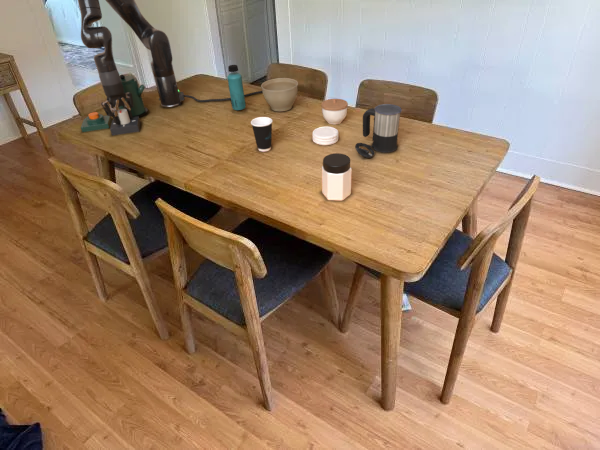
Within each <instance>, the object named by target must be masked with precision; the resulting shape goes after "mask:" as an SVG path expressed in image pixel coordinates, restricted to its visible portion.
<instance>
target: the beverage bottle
mask: <svg viewBox="0 0 600 450" xmlns="http://www.w3.org/2000/svg"><path fill="white" fill-rule="evenodd" d="M228 73H229V74H227V77H226V79H227V84H228V86H227V87H228V91H229V98H231V100H230V104H231V108H232V110H234V111H241V110H245V109H246V107H247V104H246V97H244V95H245V92H244V91H245V90H244V85H243V76H242V74H241V73H239V66H238V65H237V64H229V65H228Z"/></svg>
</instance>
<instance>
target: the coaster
mask: <svg viewBox="0 0 600 450" xmlns="http://www.w3.org/2000/svg"><path fill="white" fill-rule="evenodd" d="M311 134H312V135H311V137H312V141H313V143H315V144H317V145H318V146H319V145H320V146H331V145H334V144H336V143H337V142H338V141H339V130H338V129H337V128H335V127H333V126H328V125H327V126H319V127H316V128H314V129H313V130H312V133H311Z"/></svg>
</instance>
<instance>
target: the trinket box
mask: <svg viewBox="0 0 600 450" xmlns="http://www.w3.org/2000/svg"><path fill="white" fill-rule="evenodd" d="M320 106H321V115H322V117H323V119H324V120H325V121H326V122H327V123H328V124H329V125H339V124H341V123H342V122H343V121H344V120H345V118H346V117H347V114H348V106H349V103H348V101H347V100H345V99H342V98H329V99H325V100H323V101H322V102H321V105H320Z"/></svg>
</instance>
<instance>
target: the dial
mask: <svg viewBox="0 0 600 450" xmlns="http://www.w3.org/2000/svg"><path fill="white" fill-rule="evenodd" d="M117 116H118V117H119V120H120V123H121V125H124V124H128V123H130V118H129V115H128V112H127V109H119V108H118V111H117Z"/></svg>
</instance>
